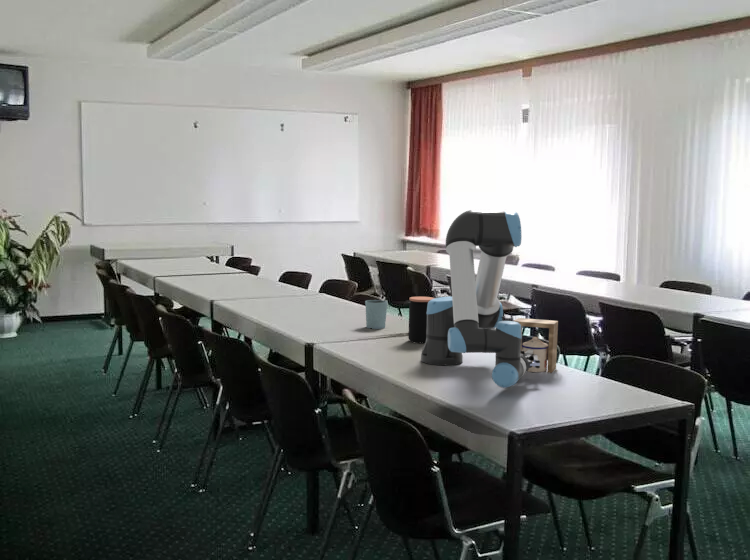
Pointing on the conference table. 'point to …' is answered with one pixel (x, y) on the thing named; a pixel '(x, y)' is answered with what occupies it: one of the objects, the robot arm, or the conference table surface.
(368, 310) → the light blue cup
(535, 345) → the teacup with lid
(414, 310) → the coffee jar
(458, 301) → the robot arm
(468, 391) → the conference table surface
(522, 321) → the wooden arch
